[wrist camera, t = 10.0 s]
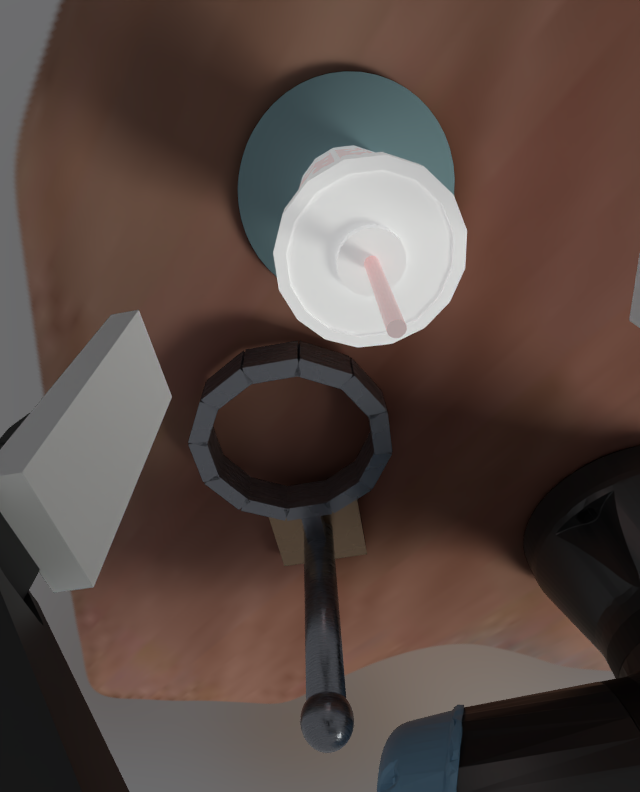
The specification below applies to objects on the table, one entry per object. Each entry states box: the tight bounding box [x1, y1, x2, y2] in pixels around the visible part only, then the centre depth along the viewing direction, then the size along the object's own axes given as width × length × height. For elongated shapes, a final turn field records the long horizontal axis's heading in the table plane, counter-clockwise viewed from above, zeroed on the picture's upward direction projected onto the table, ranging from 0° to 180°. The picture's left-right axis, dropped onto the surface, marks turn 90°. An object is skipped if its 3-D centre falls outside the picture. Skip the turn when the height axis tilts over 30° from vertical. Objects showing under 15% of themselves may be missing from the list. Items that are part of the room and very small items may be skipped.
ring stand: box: [188, 341, 392, 753], centre depth 27 cm, size 18×11×14 cm, turn 10°
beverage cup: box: [273, 145, 467, 347], centre depth 18 cm, size 6×6×14 cm
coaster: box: [238, 71, 455, 277], centre depth 24 cm, size 10×10×1 cm
